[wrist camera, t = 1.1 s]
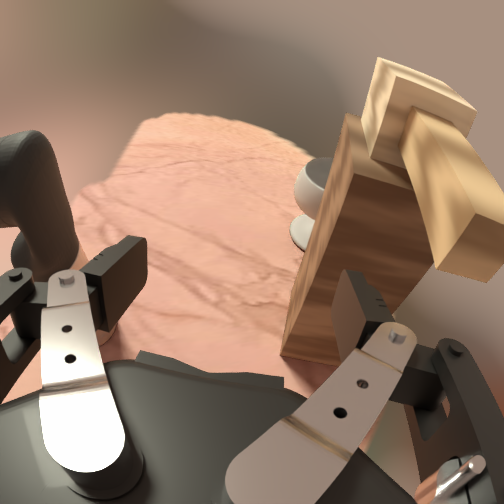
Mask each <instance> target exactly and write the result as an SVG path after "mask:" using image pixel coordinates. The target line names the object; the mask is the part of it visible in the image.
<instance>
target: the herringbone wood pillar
mask: <svg viewBox="0 0 504 504" xmlns="http://www.w3.org/2000/svg"><path fill="white" fill-rule="evenodd" d="M361 118H362V117H360V116H357V115H353V114H349V113H346V115H345V118H344V122H343V126H342V130H341V133H340V137H339V141H338V144H337V148H336V152H335V155H334V159H333V162H332V166H331V169H330V173H329V176H328V179H327V183H326V186H325V190H324V193H323V196H322V199H321V203H320V206H319V209H318V213H317V216H316V219H315V222H314V225H313V228H312V232H311V235H310V238H309V241H308V244H307V247H306V250H305V253H304V256H303V259H302V262H301V265H300V268H299V271H298V274H297V277H296V280H295V283H294V286H293V289H292V292H291V297H290V303H289V309H288V314H287V320H286V325H285V330H284V336H283V341H282V346H281V351H280V356H285V357H290V358H295V359H300V360H306V361H311V362H317V363H322V364H328V365H334V366H340V365H341V360H340V355H339V350H338V346H337V341H336V337H335V332H334V328H333V324H332V319H331V307H332V302H333V299H334V296H335V292H336V289H337V286H338V282H339V279H340V275H341V273H342V271H343V270H344V269H346V270H352V271H359V272H362V273H363V275H364V277H365V279H366V281H367V283H368V285H372V286H373V287H374V288H375V289H377V290H378V291H379V292H380V294H381V295H382V297H383V299H384V301H385V303H386V305H387V307H388V309H389V311H390V313H391V314H393V313H394V311H395V310H396V309H397V308H398V307H399V306H400V304H401V303H402V302H403V301H404V300H405V298H406V297H407V296H408V295H409V294H410V292H411V291H412V290H413V289H414V287H415V286H416V285H417V283H418V282H419V281H420V280H421V279H422V277H423V276H424V275H425V273H426V272H427V271H428V269H429V268H430V267H431V266H432V264H433V263H434V259H433V254H432V250H431V246H430V242H429V238H428V235H427V231H426V227H425V224H424V220H423V217H422V213H421V210H420V207H419V204H418V200H417V197H416V194H415V191H414V188H413V185H412V182H411V180H410V177H409V174H408V171H407V169H404V168H401V167H398V166H395V165H392V164H389V163H386V162H382V161H379V160H376V159H372V158H370V156H369V152H368V147H367V143H366V138H365V134H364V130H363V126H362V122H361Z"/></svg>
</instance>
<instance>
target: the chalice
mask: <svg viewBox="0 0 504 504" xmlns="http://www.w3.org/2000/svg"><path fill="white" fill-rule="evenodd" d="M332 162H333V158H317V159H313V160H311V161H310V162H308V163H307V164H306V165H305V166H304V167H303V168H302V170H301V171H300V173H299V175H298V177H297V179H296V182H295V185H294V196H295V200H296V203H297V204H298V206H299V207H300V209H301V210H302V211H303V212H304V213H305V214H303V215H300V216H298V217H296V218H295V219H294V220H293V221H292V222H291V225H290V230H289V231H290V236H291V237H292V239H293V241H294V242H295V243H296V245H297V246H299V247H300V248H301V249H303V250H304V251H305V250H306V247H307V244H308V241H309V238H310V235H311V232H312V228H313V225H314V222H315V219H316V216H317V213H318V209H319V206H320V203H321V199H322V196H323V193H324V190H325V186H326V183H327V179H328V176H329V173H330V169H331V166H332Z"/></svg>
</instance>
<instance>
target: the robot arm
mask: <svg viewBox="0 0 504 504" xmlns="http://www.w3.org/2000/svg"><path fill="white" fill-rule="evenodd" d="M6 227H19V229H20V230H21V232H20V233H19V234H18V236H17V238H16V239H15V241H14V243H13V246H12V250H11V262H12V265H13V267H14V269H12V270H9V271H8V272H6V273H4V274H3V275H2V276H0V324H1V323H2V321H3V320H4V319H5V318H6V317H7V316H8V315H9V314H10V315H11V318H12V321H13V324H14V328H13V329H12V331H11V332H10V333H9V334H8V335H7V336H6V337H5V338H4V339H3V341H2V342H1V340H0V404H1V403H2V401H3V400H4V398H5V397H6V395H7V394H8V393H9V391H10V390H11V388H12V387H13V385H14V384H15V382H16V381H17V380H18V378H19V377H20V375H21V374H22V373H23V371H24V370H25V368H26V367H27V366H28V364H29V363H30V362H31V360H32V359H33V358H34V356H35V355H36V354H37V352H38V351H39V350H40V348H41V366H42V385H43V386H42V389H40V390H37V391H35V392H32V393H30V394H27V395H25V396H22V397H19V398H17V399H14V400H11V401H9V402H6V403H3V404H1V405H0V504H504V417H503V415H502V413H501V411H500V409H499V407H498V404H497V403H496V400H495V398H494V396H493V394H492V393H491V390H490V388H489V386H488V385H487V383H486V381H485V379H484V377H483V375H482V373H481V372H480V370H479V368H478V366H477V364H476V363H475V361H474V359H473V357H472V355H471V354H470V352H469V351H468V349H467V348H466V347H465V346H464V345H463V344H461V343H460V342H458V341H456V340H453V339H449V338H444V339H442V340H440V341H439V342H438V344H437V346H436V348H435V349H433V348H429V347H426V346H422V345H419V344H416V343H417V338H416V335H415V334H414V333H413V332H412V331H411V330H410V329H409V328H407V327H406V326H404V325H402V324H399V323H396V322H395V320H394V318H393V316H392V314H391V313H390V311H389V309H388V307H387V305H386V303H385V301H384V299H383V297H382V295H381V294H380V292H379V291H378V290H377V289H375V288H374V287H373V286H372V285H368V283H367V281H366V279H365V277H364V275H363V273H362V272H359V271H352V270H346V269H344V270H343V271H342V273H341V275H340V279H339V282H338V286H337V289H336V292H335V296H334V299H333V302H332V307H331V319H332V324H333V328H334V332H335V337H336V341H337V346H338V350H339V355H340V360H341V365H340V366H339V367H338V368H337V369H336V370H335V371H334V373H333V374H332V375H331V376H330V377H329V378H328V379H327V380H326V381H325V382H324V383H323V384H322V385H321V386H320V387H319V388H318V389H317V390H316V391H315V392H314V393H313V394H312V395H311V396H310V397H309V398H308V399H307V398H306V397H304V396H302V395H300V394H298V393H296V392H294V391H292V390H289V389H286V388H284V377H279V376H271V375H263V374H256V373H249V372H239V373H208V372H205V371H202V370H200V369H197V368H195V367H192V366H190V365H188V364H185V363H183V362H181V361H178V360H176V359H174V358H170V357H166V356H161V355H157V354H153V353H149V352H145V351H141V350H140V352H139V354H138V356H137V357H136V359H135V360H133V359H128V360H116V361H111V362H107V363H102V359H101V355H100V351H99V347H98V346H100V345H102V344H104V343H105V342H106V341H108V340H109V338H110V337H111V336H112V334H113V332H114V331H115V327H116V323H117V322H118V320H119V319H120V318H121V316H122V315H123V314H124V312H125V311H126V310H127V308H128V307H129V306H130V304H131V303H132V302H133V300H134V299H135V298H136V296H137V295H138V294H139V293H140V291H141V290H142V289H143V287H144V286H145V284H146V280H147V274H148V269H147V241H146V239H145V238H143V237H137V236H130V235H128V236H126V237H125V238H124V239H123V240H121V241H120V242H119V243H118V244H115V245H113V246H110V247H108V248H105V249H104V250H103V251H102V252H100V253H99V255H97V256H95V257H94V258H93V259H92V260H91V261H88V259H87V257H86V255H85V253H84V251H83V249H82V247H81V244H80V242H79V240H78V238H77V235H76V233H75V228H74V222H73V216H72V212H71V208H70V205H69V202H68V199H67V196H66V193H65V189H64V186H63V182H62V178H61V175H60V171H59V167H58V163H57V160H56V157H55V154H54V151H53V148H52V146H51V144H50V142H49V141H48V139H47V138H46V137H45V136H44V135H43V134H42V133H41V132H39V131H35V130H30V131H24V132H20V133H16V134H12V135H9V136H5V137H2V138H0V228H6ZM446 396H447V398H448V401H449V403H450V413H449V416H448V418H447V416H446V413H445V411H444V408H443V405H442V402H443V400H444V399H445V398H446ZM388 400H391V401H394V402H398V403H402V404H404V408H405V412H406V416H407V420H408V424H409V428H410V432H411V437H412V441H413V446H414V450H415V455H416V459H417V465H418V470H419V475H420V480H421V484H420V485H419V486H418V488H417V489H416V492H415V500H414V499H413V498H412V496H411V495H409V494H408V493H407V492H406V491H405V490H404V489H403V488H402V487H400V486H399V485H398V484H397V483H396V482H395V481H393V479H392V478H390V477H389V476H388V475H387V474H386V473H385V472H384V471H383V470H382V469H381V468H380V467H379V466H378V465H376V464H375V463H374V462H373V461H372V460H371V459H370V458H369V457H368V456H367V455H366V454H365V453H364V452H363V451H362V450H361V449H360V448H359V447H358V446H359V445H360V443H361V442H362V441H363V439H364V438H365V436H366V435H367V433H368V432H369V430H370V429H371V427H372V425H373V424H374V422H375V421H376V419H377V417H378V416H379V414H380V413H381V411H382V409H383V408H384V406H385V404H386V403H387V401H388Z"/></svg>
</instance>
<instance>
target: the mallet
mask: <svg viewBox="0 0 504 504" xmlns="http://www.w3.org/2000/svg"><path fill="white" fill-rule="evenodd" d="M476 114H477V111H476V110H475V109H474V108H473V107H472V106H471V105H470V104H469V103H468V102H466V101H465V100H464V99H463V98H462V97H461V96H459V95H458V94H457V93H456V92H455V91H454V90H452V89H451V88H450V87H449V86H448V85H446V84H445V83H444V82H442V81H440V80H437V79H435V78H433V77H430V76H428V75H425V74H423V73H421V72H418V71H416V70H413V69H410V68H408V67H405V66H403V65H400V64H397V63H394V62H392V61H389V60H386V59H383V58H380V57H378V58H377V62H376V66H375V70H374V74H373V78H372V82H371V85H370V89H369V93H368V97H367V100H366V104H365V107H364V111H363V115H362V118H361V122H362V126H363V130H364V134H365V138H366V143H367V147H368V152H369V156H370V158H372V159H376V160H379V161H382V162H386V163H389V164H392V165H395V166H398V167H401V168H404V169H407V171H408V174H409V177H410V180H411V182H412V185H413V188H414V191H415V194H416V197H417V200H418V204H419V207H420V210H421V213H422V217H423V220H424V224H425V227H426V231H427V235H428V238H429V242H430V246H431V250H432V254H433V259H434V263H435V268H436V269H437V270H441V271H444V272H449V273H452V274H456V275H460V276H463V277H467V278H471V279H474V280H477V281H481V282H485V283H487V282H488V281H489V280H490V279H491V278H492V277H493V275H494V274H495V273H496V272H497V271H498V270H499V269H500V267H501V266H502V265H503V264H504V193H503V192H502V190H501V189H500V187H499V186H498V184H497V182H496V181H495V179H494V178H493V176H492V175H491V173H490V172H489V170H488V169H487V167H486V166H485V164H484V163H483V162H482V160H481V159H480V157H479V156H478V154H477V153H476V152H475V150H474V149H473V148H472V146H471V145H470V144H469V142H468V141H467V140H466V138H467V136H468V133H469V131H470V129H471V126H472V124H473V121H474V119H475V116H476Z"/></svg>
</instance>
